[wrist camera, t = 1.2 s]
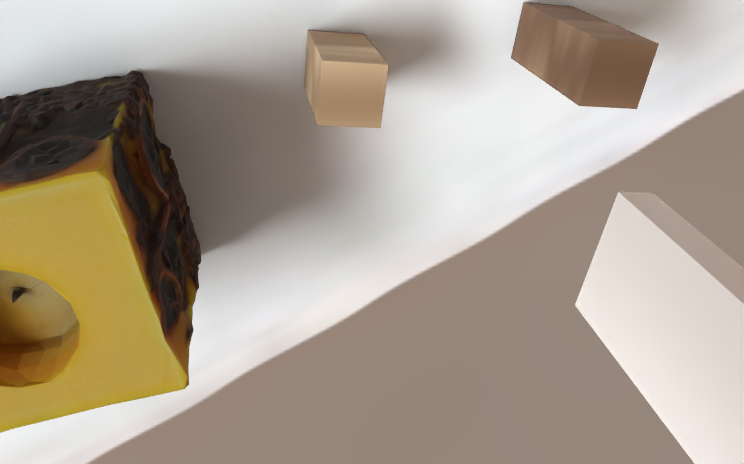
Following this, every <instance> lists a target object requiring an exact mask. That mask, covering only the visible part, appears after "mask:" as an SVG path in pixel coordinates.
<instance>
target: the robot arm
mask: <svg viewBox="0 0 744 464" xmlns="http://www.w3.org/2000/svg"><path fill="white" fill-rule="evenodd" d="M575 306H576V307H577V308H578V310H579V311H580V312H581V314H582V315H583V316H584V318H585V319H586V320H587V322H588V323H589V324H590V325H591V327H592V328H593V330H594V331H595V332H596V334H597V335H598V336H599V338H600V339H601V340H602V341H603V343H604V344H605V345H606V347H607V348H608V349H609V351H610V352H611V353H612V355H613V356H614V357H615V359H616V360H617V361H618V363H619V364H620V365H621V366H622V368H623V369H624V371H625V372H626V373H627V375H628V376H629V377H630V379H631V380H632V381H633V383H634V384H635V385H636V386H637V388H638V389H639V391H640V392H641V393H642V395H643V396H644V397H645V399H646V400H647V401H648V402H649V404H650V405H651V406H652V408H653V409H654V410H655V412H656V413H657V414H658V416H659V417H660V418H661V420H662V421H663V422H664V424H665V425H666V426H667V428H668V429H669V430H670V432H671V433H672V434H673V436H674V437H675V438H676V440H677V441H678V442H679V443H680V445H681V446H682V448H683V449H684V450H685V452H686V453H687V454H688V455H689V457H690V458H691V459H692V461H693V462H694V463H695V464H744V268H742V267H741V266H740V265H739V264H738V263H737V262H735V261H734V260H733V259H732V258H730V257H729V256H728V255H727V254H726V253H724V252H723V251H722V250H721V249H720V248H718V247H717V246H716V245H715V244H714V243H712V242H711V241H710V240H709V239H708V238H706V237H705V236H704V235H703V234H701V233H700V232H699V231H698V230H696V229H695V228H694V227H693V226H692V225H690V224H689V223H688V222H687V221H686V220H685V219H683V218H682V217H681V216H680V215H679V214H677V213H676V212H675V211H674V210H672V209H671V208H670V207H669V206H668V205H666V204H665V203H664V202H663V201H662V200H660V199H659V198H658V197H657V196H655V195H654V194H653V193H634V192H618V195H617V197H616V200H615V202H614V205H613V208H612V210H611V213H610V216H609V218H608V221H607V223H606V226H605V229H604V232H603V234H602V236H601V239H600V242H599V244H598V247H597V250H596V252H595V255H594V257H593V260H592V263H591V265H590V268H589V270H588V273H587V276H586V278H585V281H584V283H583V286H582V289H581V291H580V294H579V297H578V299H577V302H576V304H575Z"/></svg>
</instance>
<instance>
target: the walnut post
mask: <svg viewBox="0 0 744 464" xmlns="http://www.w3.org/2000/svg"><path fill="white" fill-rule="evenodd" d="M657 47H658V43H655V42H653V41H651V40H648V39H646V38H644V37H642V36H639V35H637V34H635V33H632V32H630V31H628V30H625V29H623V28H621V27H618V26H616V25H614V24H611V23H609V22H607V21H604V20H602V19H600V18H598V17H595V16H593V15H591V14H588V13H586V12H584V11H581V10H579V9H577V8H574V7H567V6H556V5H545V4H535V3H523V7H522V11H521V16H520V20H519V25H518V29H517V34H516V38H515V43H514V47H513V51H512V56H511V58H512V59H513V60H515V61H516V62H518V63H519V64H520V65H522V66H523V67H525V68H526V69H527V70H529V71H530V72H532V73H533V74H535V75H536V76H537V77H539V78H540V79H542V80H543V81H545V82H546V83H547V84H549V85H550V86H552V87H553V88H554V89H556V90H557V91H559V92H560V93H562V94H563V95H564V96H566V97H567V98H569V99H570V100H572V101H573V102H574V103H576V104H577V105H579V106H592V107H611V108H630V109H637V107H638V104H639V101H640V98H641V95H642V92H643V89H644V86H645V83H646V80H647V77H648V74H649V71H650V68H651V65H652V62H653V59H654V56H655V53H656V50H657Z"/></svg>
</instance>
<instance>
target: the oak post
mask: <svg viewBox="0 0 744 464" xmlns="http://www.w3.org/2000/svg"><path fill="white" fill-rule="evenodd" d="M388 67H389V65H388V63H387V62H386V61H385V60H384V58H383V57H382V56H381V54H380V53H379V52H378V51H377V49H376V48H375V47H374V46H373V44H372V43H371V42H370V41H369V39H368V38H367V37H366V35H365V34H354V33H340V32H327V31H314V30H308V37H307V52H306V67H305V83H304V88H305V91H306V93H307V96H308V99H309V102H310V105H311V108H312V111H313V114H314V116H315V119H316V122H317V125H321V126H346V127H370V128H381V120H382V113H383V105H384V97H385V90H386V82H387V74H388Z"/></svg>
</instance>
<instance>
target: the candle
mask: <svg viewBox="0 0 744 464" xmlns="http://www.w3.org/2000/svg"><path fill="white" fill-rule="evenodd" d="M152 115H153V99H152V98H151V96H150V94H149V86H148V84H147V83H146V80H145V79H144V76H143V73H140V72H136V71H131V72H130V73H129V74H127V75H126V76H124V77H104V78H101V79H98V80H94V81H78V82H75V83H72V84H69V85H66V86H63V87H55V88H48V89H40V90H37V91H33V92H30V93H27V94H24V95H22V96H20V97H16V96H7V97H5V98H4V99H2V100H0V433H1V432H4V431H7V430H10V429H14V428H17V427H22V426H26V425H30V424H34V423H38V422H42V421H46V420H50V419H54V418H58V417H62V416H67V415H71V414H75V413H79V412H83V411H87V410H91V409H95V408H99V407H103V406H107V405H111V404H116V403H121V402H126V401H131V400H136V399H141V398H145V397H150V396H155V395H159V394H164V393H169V392H173V391H178V390H182V389H185V388H186V387H187V386H188V385H189V375H188V363H189V345H190V341H191V337H192V333H193V326H192V306H193V304H194V301H195V297H196V292H197V290H198V288H199V283H198V269H199V268H198V265H199V264H200V262H201V252H200V245H199V242H198V239H197V236H196V234H195V231H194V227H193V224H192V221H191V218H190V212H189V207H188V206H187V203H186V197H185V194H184V192H183V189H182V187H181V185H180V182H179V177H178V172H177V169H176V167H175V163H174V161H173V160H172V159H171V158H170V157H169V156H170V155H171V149H170V148H168V147H167V146H165V145H163V144H161V143H160V142H159V140H158V139H157V137H156V133H155V125H154V119H153V116H152Z"/></svg>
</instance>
